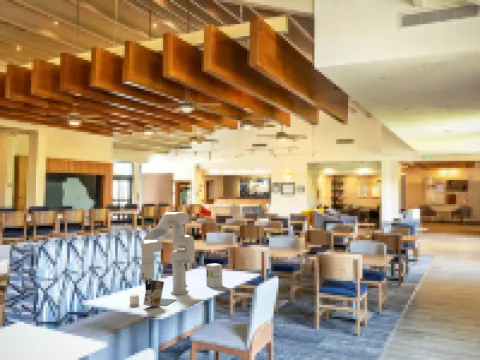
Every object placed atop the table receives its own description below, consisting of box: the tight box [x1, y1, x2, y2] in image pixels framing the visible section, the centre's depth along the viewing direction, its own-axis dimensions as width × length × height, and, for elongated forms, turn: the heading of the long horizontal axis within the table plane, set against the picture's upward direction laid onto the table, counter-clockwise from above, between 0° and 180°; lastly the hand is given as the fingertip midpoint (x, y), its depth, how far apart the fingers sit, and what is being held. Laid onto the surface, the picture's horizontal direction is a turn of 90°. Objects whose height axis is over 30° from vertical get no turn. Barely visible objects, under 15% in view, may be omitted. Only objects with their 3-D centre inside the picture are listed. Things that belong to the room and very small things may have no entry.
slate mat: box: [159, 297, 178, 307], centre depth 277 cm, size 15×16×1 cm
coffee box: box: [142, 279, 165, 307], centre depth 267 cm, size 9×6×16 cm
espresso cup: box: [129, 294, 140, 307], centre depth 273 cm, size 6×6×6 cm
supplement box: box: [205, 262, 223, 288], centre depth 322 cm, size 10×9×17 cm
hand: (148, 289), depth 262 cm, fingers closed
